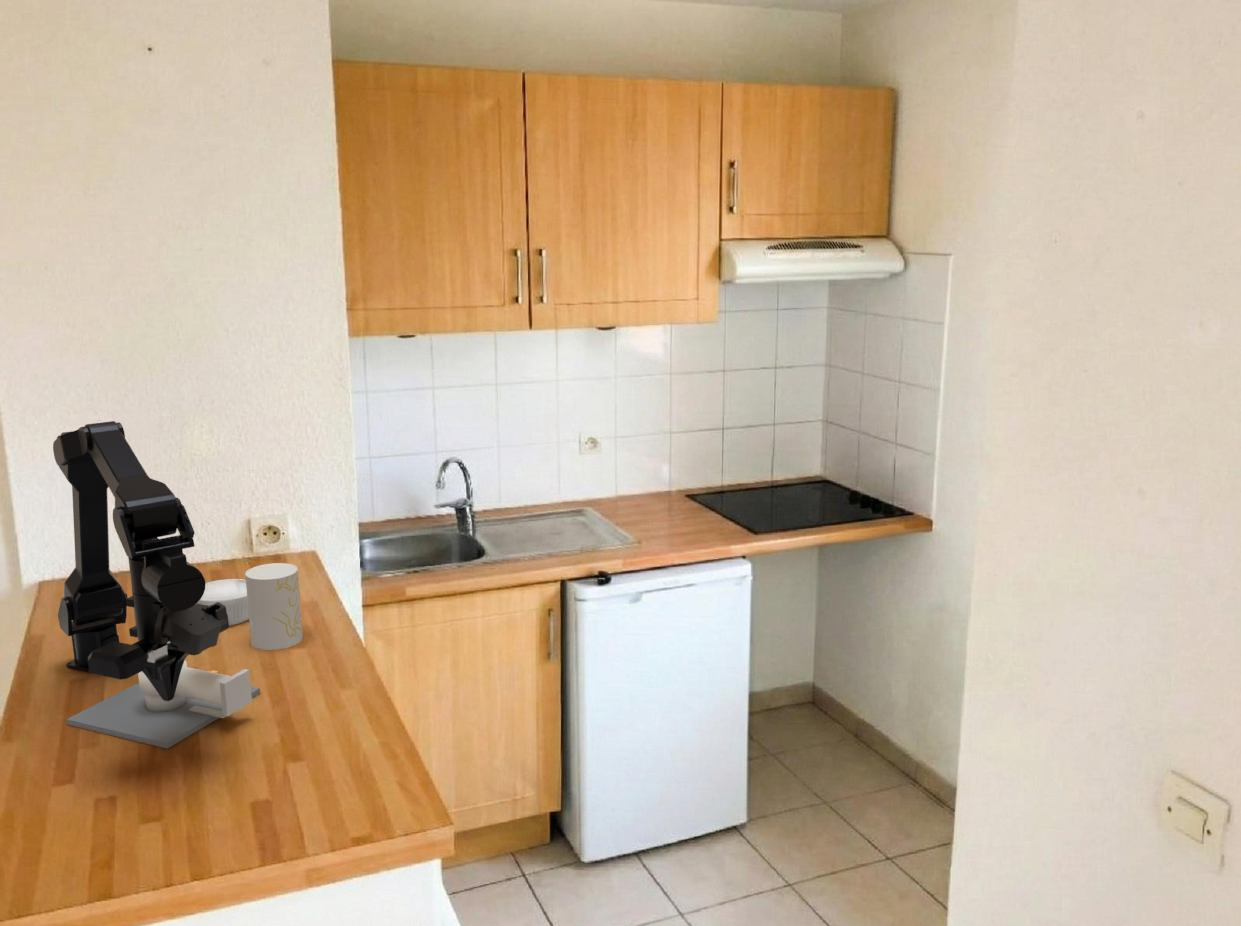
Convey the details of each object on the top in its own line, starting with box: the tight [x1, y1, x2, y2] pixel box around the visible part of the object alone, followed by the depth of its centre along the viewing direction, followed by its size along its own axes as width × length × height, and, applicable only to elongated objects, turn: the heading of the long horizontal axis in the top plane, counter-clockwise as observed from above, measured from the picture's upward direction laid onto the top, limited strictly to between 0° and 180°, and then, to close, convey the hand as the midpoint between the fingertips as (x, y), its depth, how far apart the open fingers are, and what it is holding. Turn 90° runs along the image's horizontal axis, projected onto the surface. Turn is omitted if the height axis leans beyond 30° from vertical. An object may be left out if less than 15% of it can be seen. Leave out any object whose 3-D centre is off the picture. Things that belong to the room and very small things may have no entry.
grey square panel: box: [66, 669, 261, 749], centre depth 154 cm, size 20×20×3 cm
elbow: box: [137, 659, 253, 717], centre depth 150 cm, size 17×6×5 cm, turn 68°
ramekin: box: [197, 578, 249, 627], centre depth 187 cm, size 11×11×5 cm
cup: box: [244, 562, 304, 651], centre depth 176 cm, size 8×8×12 cm
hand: (168, 699), depth 142 cm, fingers closed
